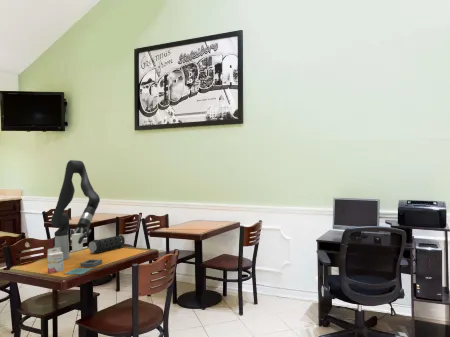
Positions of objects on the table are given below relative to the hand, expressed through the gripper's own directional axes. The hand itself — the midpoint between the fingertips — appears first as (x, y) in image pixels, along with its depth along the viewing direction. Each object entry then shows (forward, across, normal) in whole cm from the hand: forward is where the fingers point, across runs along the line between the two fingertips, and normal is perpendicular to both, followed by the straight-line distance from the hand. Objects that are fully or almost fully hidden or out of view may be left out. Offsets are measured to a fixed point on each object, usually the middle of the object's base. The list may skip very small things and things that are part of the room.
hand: (75, 243), depth 230 cm
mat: (+12, 0, +14) cm, 19 cm away
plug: (+2, 0, +5) cm, 5 cm away
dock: (+1, 0, +25) cm, 25 cm away
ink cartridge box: (+12, -16, +14) cm, 25 cm away
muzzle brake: (-30, -12, +56) cm, 65 cm away
